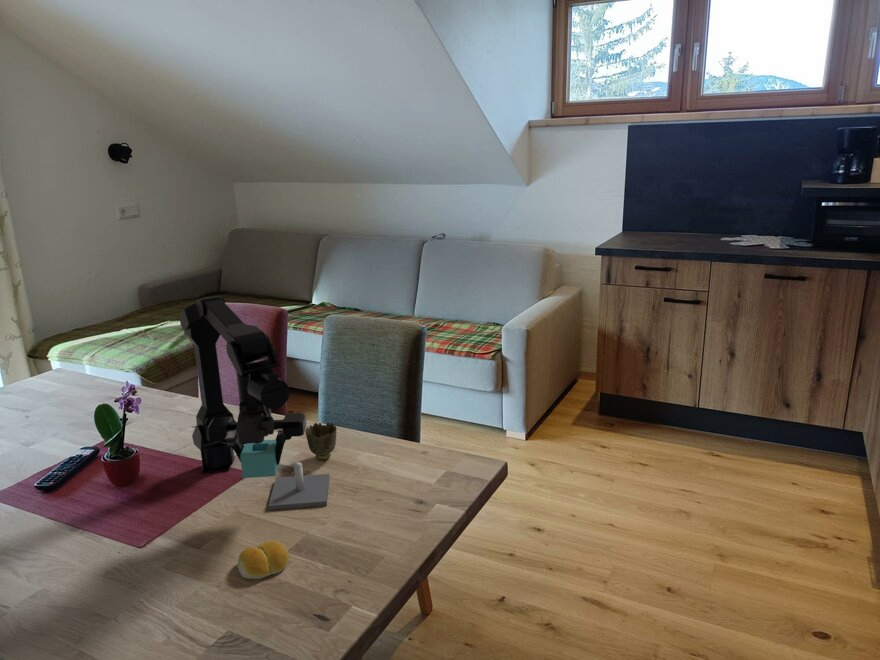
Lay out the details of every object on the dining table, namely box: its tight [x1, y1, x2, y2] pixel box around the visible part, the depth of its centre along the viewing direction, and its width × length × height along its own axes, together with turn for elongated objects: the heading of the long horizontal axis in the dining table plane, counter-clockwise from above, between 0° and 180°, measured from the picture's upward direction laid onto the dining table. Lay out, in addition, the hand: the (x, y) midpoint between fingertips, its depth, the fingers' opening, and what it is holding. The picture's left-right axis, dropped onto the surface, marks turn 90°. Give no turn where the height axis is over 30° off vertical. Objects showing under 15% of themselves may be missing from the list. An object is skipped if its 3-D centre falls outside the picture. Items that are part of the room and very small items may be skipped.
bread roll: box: [237, 541, 290, 580], centre depth 119 cm, size 8×9×4 cm
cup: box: [304, 422, 338, 462], centre depth 158 cm, size 8×7×8 cm
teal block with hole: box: [240, 439, 280, 479], centre depth 133 cm, size 6×6×5 cm
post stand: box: [268, 461, 330, 511], centre depth 142 cm, size 12×12×7 cm
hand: (261, 464), depth 133 cm, fingers closed on teal block with hole, 6 cm apart
